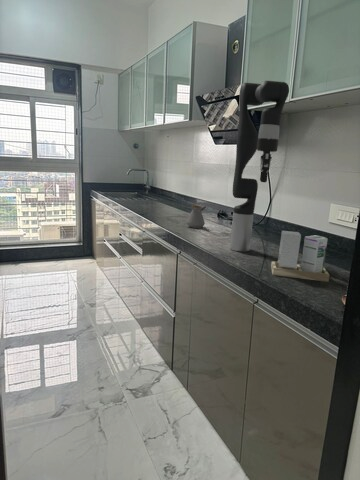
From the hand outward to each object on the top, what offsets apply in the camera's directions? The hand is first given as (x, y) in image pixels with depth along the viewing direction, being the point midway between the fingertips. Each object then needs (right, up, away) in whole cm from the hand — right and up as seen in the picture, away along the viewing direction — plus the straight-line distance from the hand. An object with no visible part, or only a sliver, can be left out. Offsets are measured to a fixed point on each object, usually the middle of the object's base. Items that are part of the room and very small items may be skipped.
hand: (263, 181), depth 136 cm
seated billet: (+7, -34, -6) cm, 36 cm away
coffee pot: (-21, -16, +78) cm, 82 cm away
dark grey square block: (+19, -35, +3) cm, 40 cm away
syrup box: (+16, -36, -7) cm, 40 cm away
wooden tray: (+11, -36, -6) cm, 38 cm away
